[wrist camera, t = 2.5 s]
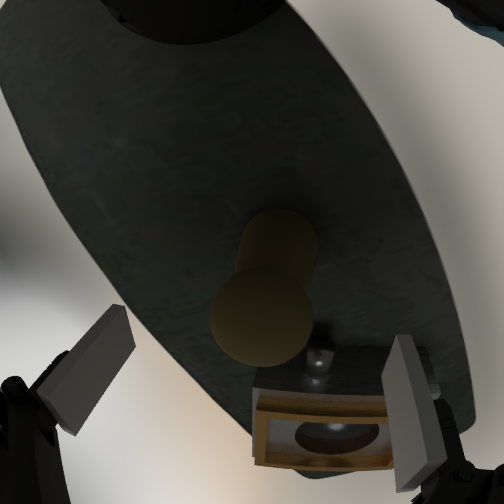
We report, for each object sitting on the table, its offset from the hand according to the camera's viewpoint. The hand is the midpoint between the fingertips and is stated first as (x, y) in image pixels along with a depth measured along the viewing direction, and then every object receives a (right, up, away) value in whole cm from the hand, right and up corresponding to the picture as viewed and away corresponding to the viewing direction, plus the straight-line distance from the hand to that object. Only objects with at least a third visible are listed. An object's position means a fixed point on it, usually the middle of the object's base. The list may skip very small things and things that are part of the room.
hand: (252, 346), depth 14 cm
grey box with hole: (+9, -9, +15) cm, 20 cm away
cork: (+2, +5, +10) cm, 11 cm away
